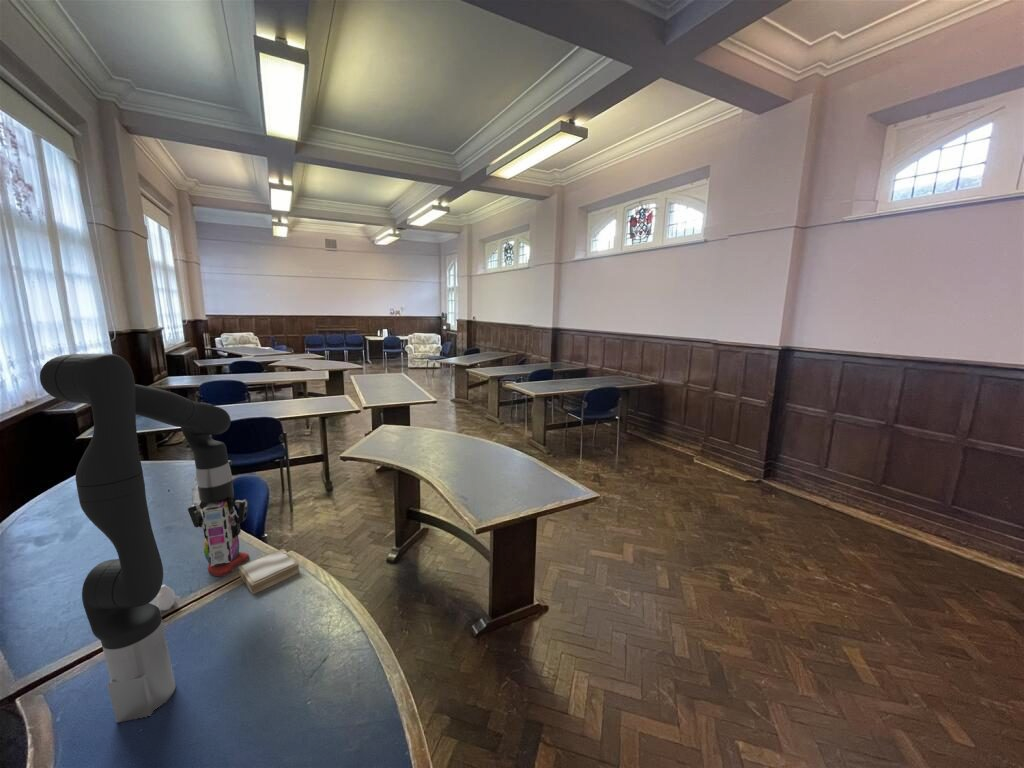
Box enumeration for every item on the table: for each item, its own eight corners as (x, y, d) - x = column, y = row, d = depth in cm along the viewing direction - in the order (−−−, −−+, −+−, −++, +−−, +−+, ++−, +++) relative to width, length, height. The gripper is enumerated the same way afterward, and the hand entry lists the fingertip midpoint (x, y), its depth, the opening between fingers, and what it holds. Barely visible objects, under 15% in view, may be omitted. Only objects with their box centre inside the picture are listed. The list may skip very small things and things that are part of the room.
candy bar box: (232, 562, 108) (223, 506, 105) (210, 567, 106) (200, 510, 103) (240, 541, 118) (232, 489, 115) (220, 545, 116) (211, 492, 113)
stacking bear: (224, 577, 126) (215, 526, 122) (197, 573, 128) (188, 522, 124) (252, 556, 136) (245, 508, 133) (227, 553, 138) (219, 506, 135)
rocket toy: (158, 618, 110) (152, 593, 108) (151, 610, 113) (146, 585, 111) (182, 606, 114) (177, 581, 112) (175, 598, 117) (170, 574, 115)
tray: (299, 572, 128) (298, 563, 127) (253, 594, 118) (251, 584, 118) (284, 556, 136) (282, 547, 136) (239, 575, 127) (238, 566, 126)
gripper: (175, 489, 103) (186, 548, 106) (238, 483, 105) (246, 542, 108) (192, 477, 110) (201, 533, 113) (250, 472, 113) (257, 527, 116)
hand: (223, 537), depth 111 cm, fingers closed on candy bar box, 5 cm apart
